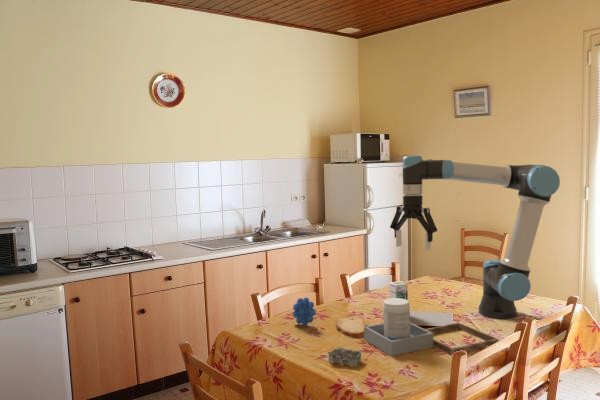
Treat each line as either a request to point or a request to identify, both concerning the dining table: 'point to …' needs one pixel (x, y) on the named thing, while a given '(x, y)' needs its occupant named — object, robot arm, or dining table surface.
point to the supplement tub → (396, 318)
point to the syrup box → (398, 290)
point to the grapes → (304, 311)
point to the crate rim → (471, 347)
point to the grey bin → (413, 343)
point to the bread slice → (351, 326)
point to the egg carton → (345, 356)
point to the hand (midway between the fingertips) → (413, 248)
